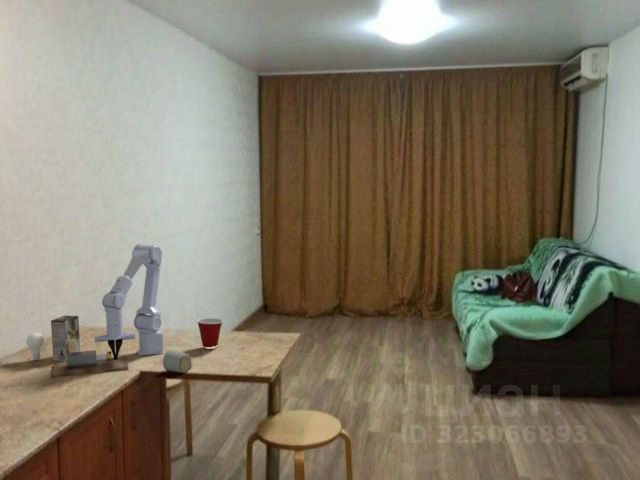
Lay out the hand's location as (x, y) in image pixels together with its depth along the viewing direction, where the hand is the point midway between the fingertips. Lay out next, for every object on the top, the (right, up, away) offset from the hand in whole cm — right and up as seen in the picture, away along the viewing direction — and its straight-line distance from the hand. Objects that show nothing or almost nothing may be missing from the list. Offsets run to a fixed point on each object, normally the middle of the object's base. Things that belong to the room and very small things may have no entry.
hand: (115, 359), depth 237 cm
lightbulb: (-33, -2, +6) cm, 34 cm away
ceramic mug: (+25, -3, -5) cm, 26 cm away
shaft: (-9, -1, -3) cm, 10 cm away
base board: (-8, -3, -3) cm, 9 cm away
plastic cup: (+32, 0, +24) cm, 40 cm away
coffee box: (-23, -2, +10) cm, 25 cm away
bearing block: (-11, -3, -4) cm, 12 cm away
